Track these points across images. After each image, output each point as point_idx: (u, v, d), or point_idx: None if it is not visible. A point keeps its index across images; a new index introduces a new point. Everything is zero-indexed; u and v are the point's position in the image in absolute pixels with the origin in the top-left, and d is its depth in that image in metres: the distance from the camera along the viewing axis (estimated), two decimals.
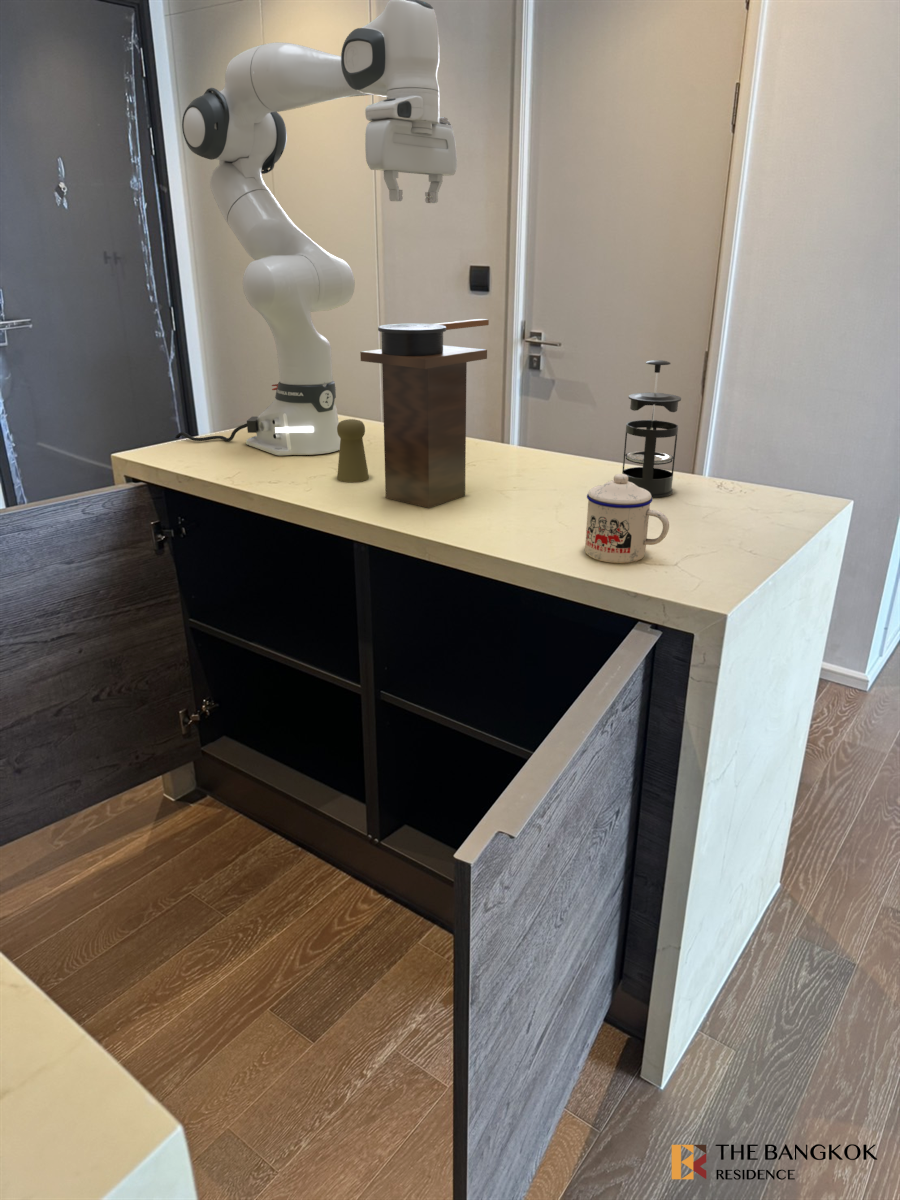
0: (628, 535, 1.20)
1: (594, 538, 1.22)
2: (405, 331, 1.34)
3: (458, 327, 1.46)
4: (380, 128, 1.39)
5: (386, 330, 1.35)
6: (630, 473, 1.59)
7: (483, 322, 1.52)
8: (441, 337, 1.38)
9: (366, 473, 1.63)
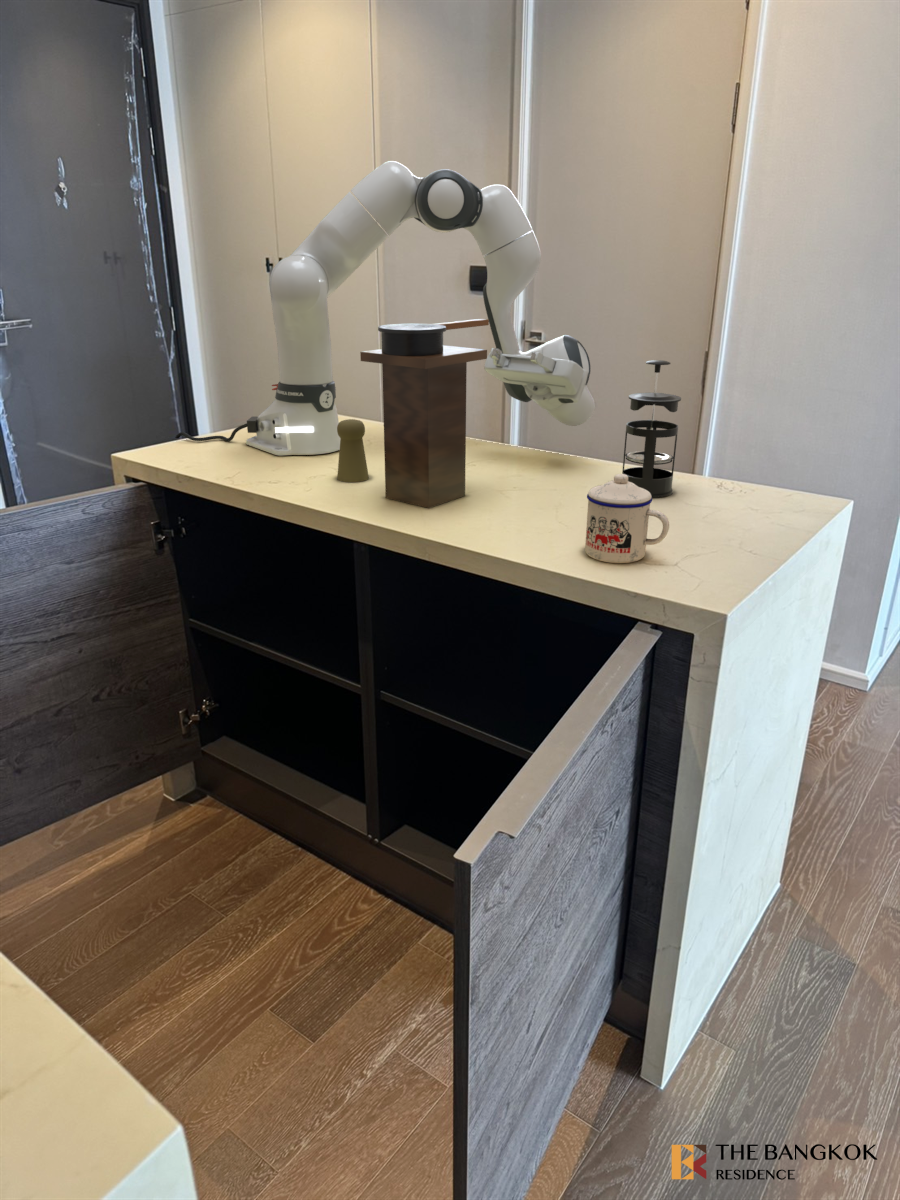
0: (628, 535, 1.20)
1: (594, 538, 1.22)
2: (405, 331, 1.34)
3: (458, 327, 1.46)
4: (578, 387, 1.65)
5: (386, 330, 1.35)
6: (630, 473, 1.59)
7: (483, 322, 1.52)
8: (441, 337, 1.38)
9: (366, 473, 1.63)
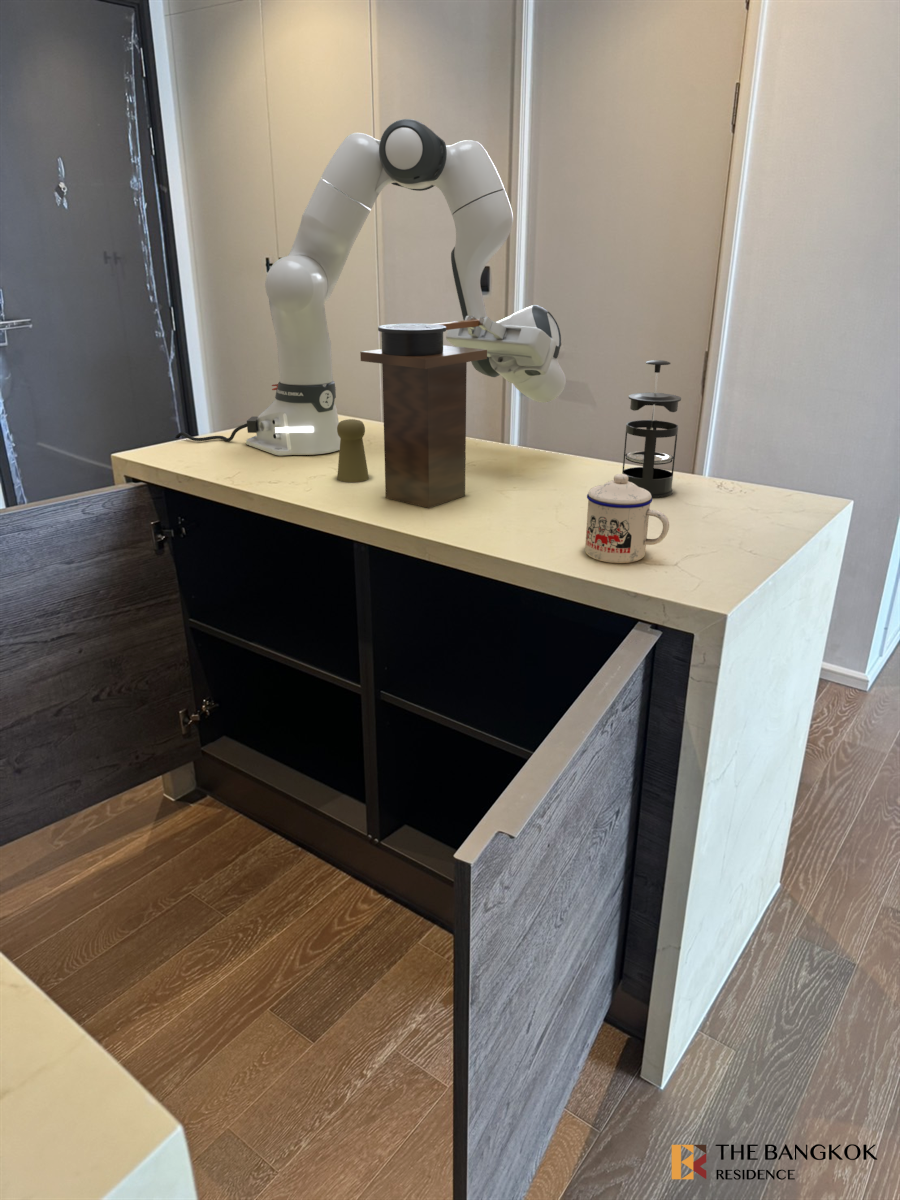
0: (628, 535, 1.20)
1: (594, 538, 1.22)
2: (405, 331, 1.34)
3: (457, 327, 1.46)
4: (545, 357, 1.54)
5: (386, 330, 1.35)
6: (630, 473, 1.59)
7: None
8: (441, 337, 1.38)
9: (366, 473, 1.63)
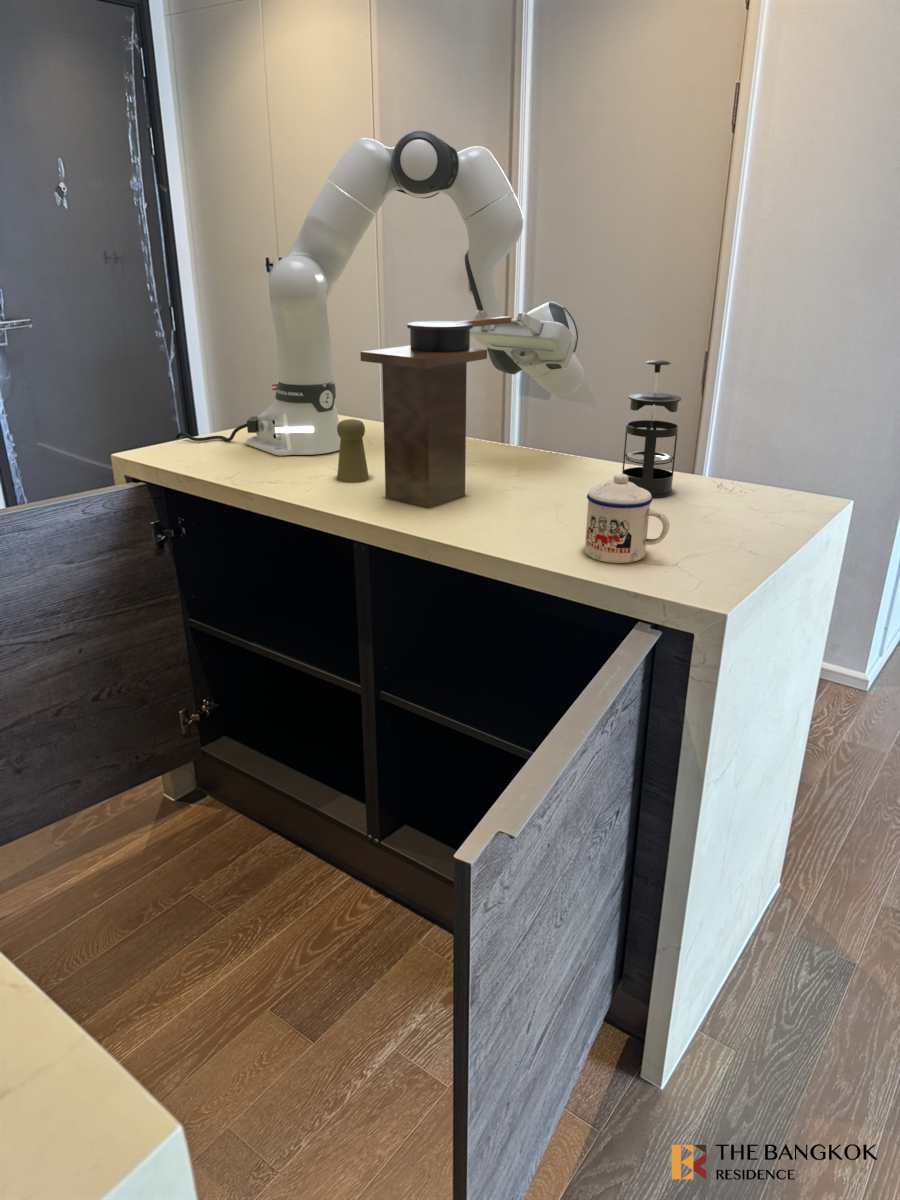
0: (628, 535, 1.20)
1: (594, 538, 1.22)
2: (434, 328, 1.39)
3: (482, 325, 1.51)
4: (566, 351, 1.59)
5: (415, 327, 1.40)
6: (630, 473, 1.59)
7: (507, 320, 1.57)
8: (468, 334, 1.43)
9: (366, 473, 1.63)
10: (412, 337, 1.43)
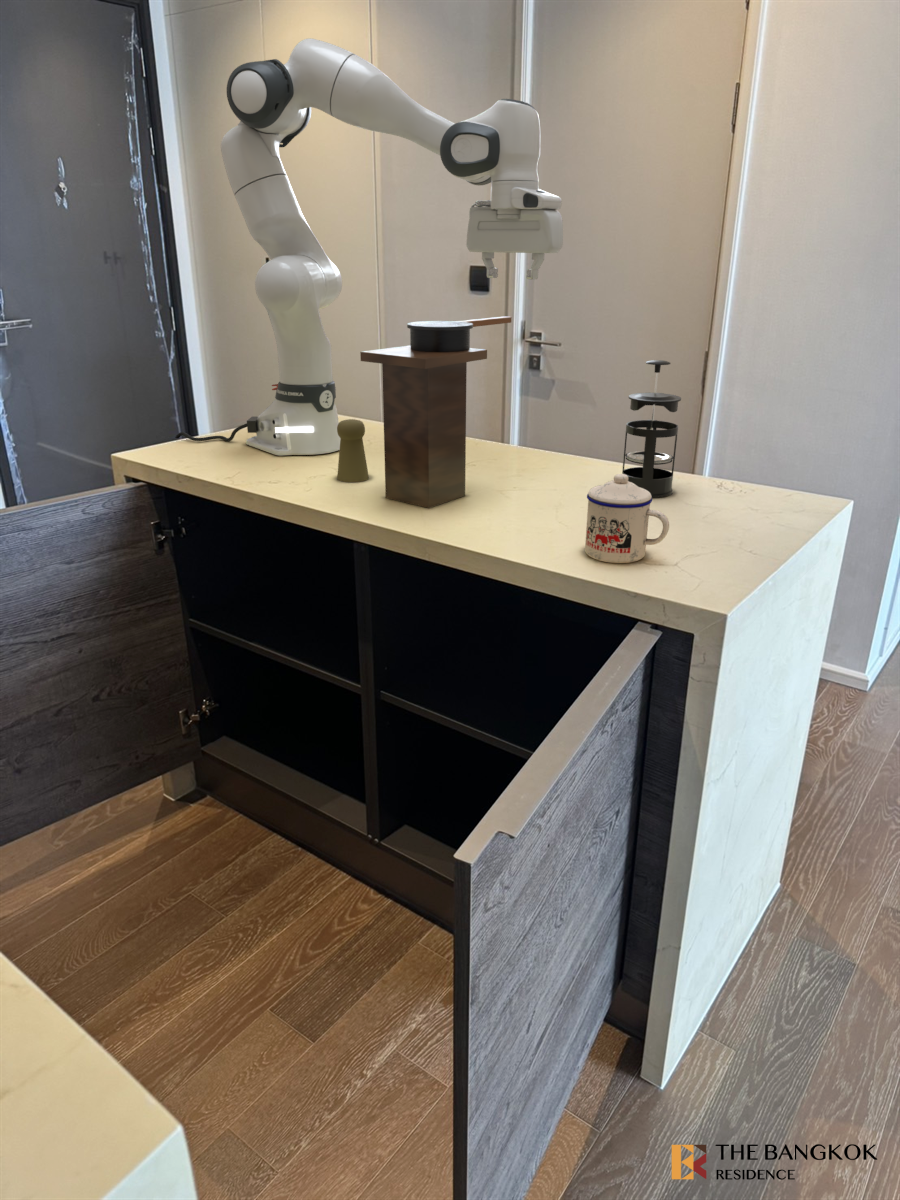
0: (628, 535, 1.20)
1: (594, 538, 1.22)
2: (434, 328, 1.39)
3: (482, 325, 1.51)
4: (559, 218, 1.57)
5: (415, 327, 1.40)
6: (630, 473, 1.59)
7: (507, 320, 1.57)
8: (468, 334, 1.43)
9: (366, 473, 1.63)
10: (412, 337, 1.43)
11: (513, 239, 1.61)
